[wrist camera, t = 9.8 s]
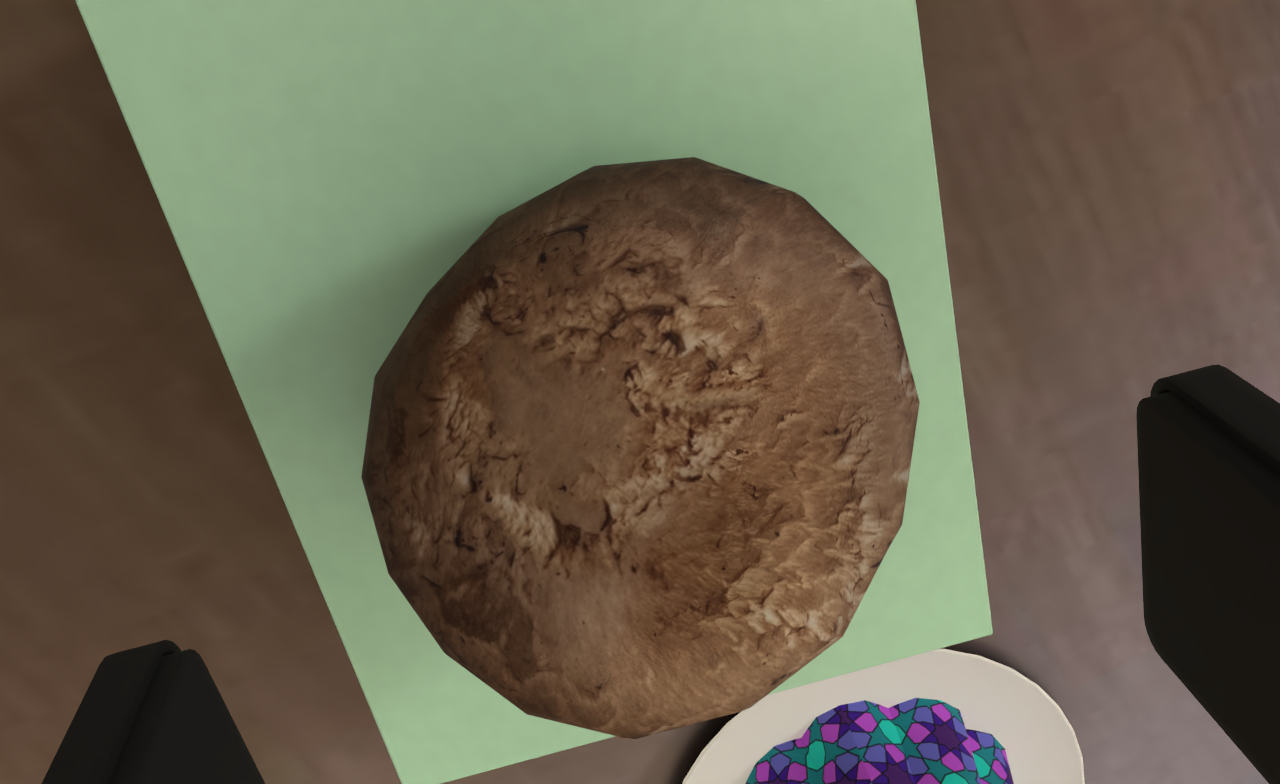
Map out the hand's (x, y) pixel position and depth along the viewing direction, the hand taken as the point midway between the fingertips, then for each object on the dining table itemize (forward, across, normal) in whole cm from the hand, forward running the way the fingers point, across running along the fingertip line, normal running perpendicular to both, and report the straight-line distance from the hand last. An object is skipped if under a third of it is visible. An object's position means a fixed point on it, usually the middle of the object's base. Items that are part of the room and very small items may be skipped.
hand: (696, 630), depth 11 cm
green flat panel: (+9, 0, +1) cm, 9 cm away
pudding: (+15, -4, +19) cm, 24 cm away
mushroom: (+8, 0, +1) cm, 8 cm away
